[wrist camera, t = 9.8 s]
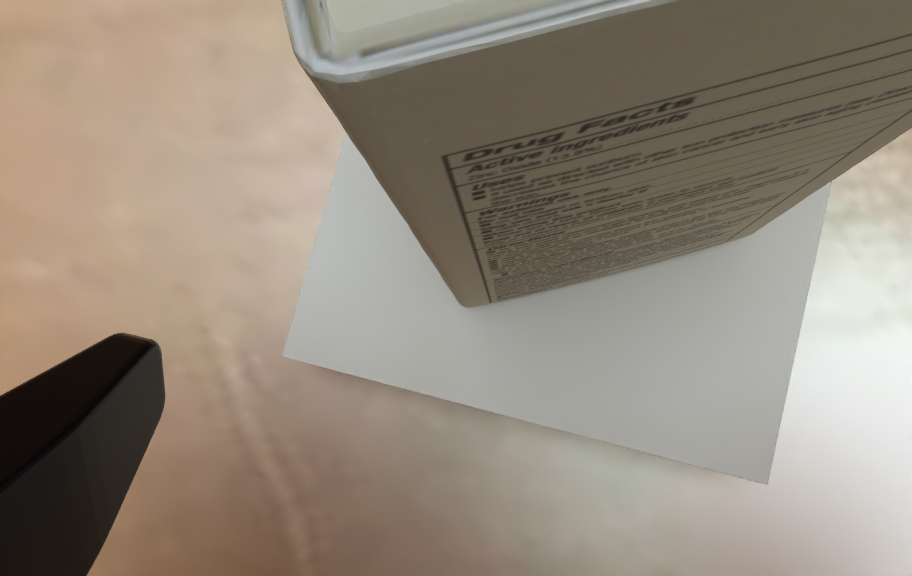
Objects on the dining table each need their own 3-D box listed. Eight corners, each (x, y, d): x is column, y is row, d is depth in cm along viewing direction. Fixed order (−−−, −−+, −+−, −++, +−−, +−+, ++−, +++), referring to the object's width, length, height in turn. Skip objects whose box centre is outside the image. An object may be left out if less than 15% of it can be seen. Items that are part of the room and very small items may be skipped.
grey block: (789, 86, 21) (866, 17, 17) (705, 464, 20) (767, 484, 16) (419, -5, 21) (410, -94, 17) (316, 361, 20) (282, 356, 16)
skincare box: (694, 42, 17) (1215, -892, 5) (756, 241, 16) (1540, -236, 4) (395, 117, 17) (138, -602, 5) (444, 318, 16) (291, 82, 4)
